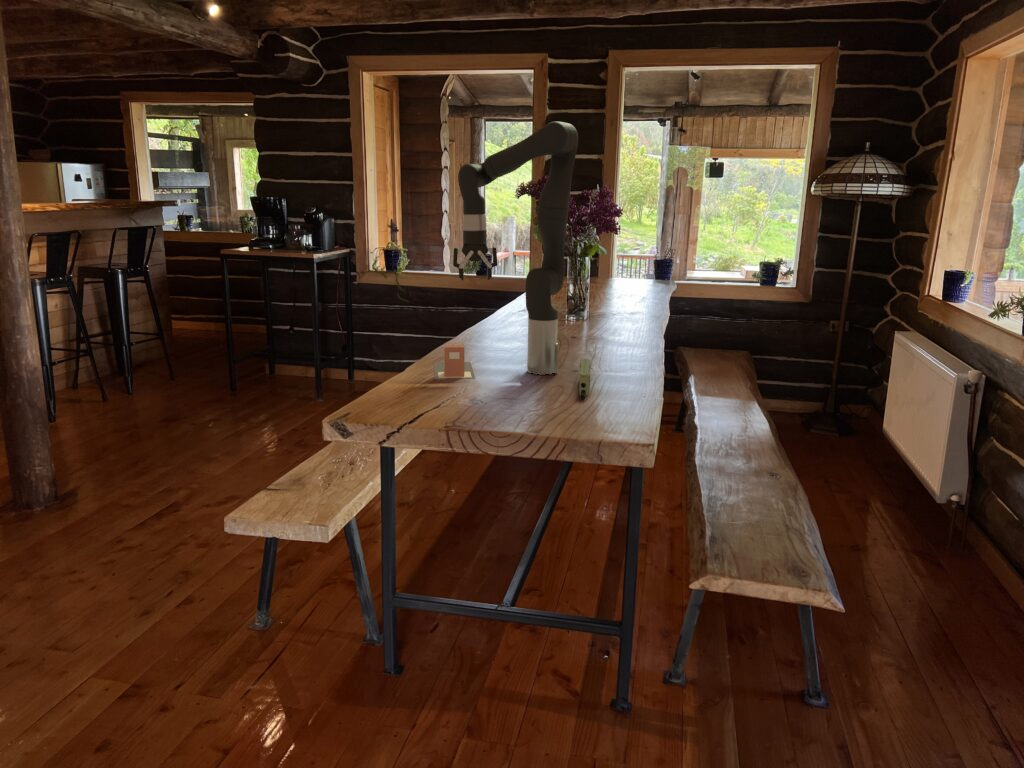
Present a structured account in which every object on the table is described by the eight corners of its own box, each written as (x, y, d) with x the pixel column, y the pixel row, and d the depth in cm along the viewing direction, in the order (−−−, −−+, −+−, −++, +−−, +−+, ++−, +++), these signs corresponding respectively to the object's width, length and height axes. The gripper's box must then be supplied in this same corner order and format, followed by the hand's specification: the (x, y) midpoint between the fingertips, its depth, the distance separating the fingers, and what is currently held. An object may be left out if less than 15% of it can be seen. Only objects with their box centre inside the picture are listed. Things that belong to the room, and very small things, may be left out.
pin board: (470, 364, 240) (470, 353, 239) (475, 381, 219) (475, 369, 218) (433, 365, 239) (433, 353, 238) (435, 382, 217) (435, 370, 216)
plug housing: (463, 372, 225) (463, 344, 223) (464, 376, 221) (464, 347, 219) (444, 372, 225) (443, 344, 222) (444, 376, 220) (444, 347, 218)
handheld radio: (591, 379, 225) (588, 402, 201) (580, 379, 225) (576, 402, 201) (591, 358, 223) (588, 378, 199) (580, 358, 224) (576, 378, 200)
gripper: (452, 229, 229) (454, 281, 233) (497, 229, 230) (498, 280, 234) (451, 228, 236) (453, 279, 240) (495, 228, 238) (496, 278, 241)
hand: (475, 280), depth 237 cm, fingers open, 8 cm apart
